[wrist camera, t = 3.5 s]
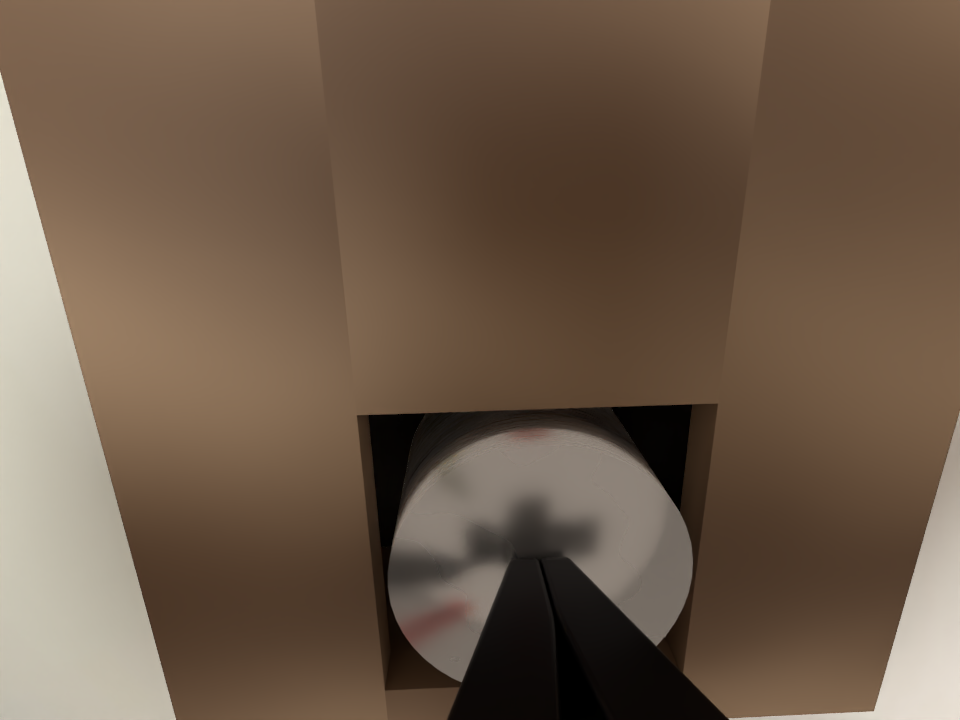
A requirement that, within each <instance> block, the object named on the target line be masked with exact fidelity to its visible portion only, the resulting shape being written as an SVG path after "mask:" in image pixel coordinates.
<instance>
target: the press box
mask: <svg viewBox="0 0 960 720" xmlns="http://www.w3.org/2000/svg"><path fill="white" fill-rule="evenodd" d="M0 72H1V76H2V79H3V83H4V87H5V90H6V94H7V98H8V101H9V105H10V109H11V113H12V116H13V120H14V124H15V127H16V131H17V135H18V138H19V142H20V146H21V149H22V153H23V157H24V160H25V164H26V168H27V171H28V175H29V179H30V182H31V186H32V190H33V194H34V197H35V201H36V205H37V208H38V212H39V216H40V219H41V223H42V227H43V230H44V234H45V238H46V241H47V245H48V249H49V252H50V256H51V260H52V264H53V267H54V271H55V275H56V278H57V282H58V286H59V289H60V293H61V297H62V300H63V304H64V308H65V311H66V315H67V319H68V322H69V326H70V330H71V333H72V337H73V341H74V345H75V348H76V352H77V356H78V359H79V363H80V367H81V370H82V374H83V378H84V381H85V385H86V389H87V392H88V396H89V400H90V403H91V407H92V411H93V415H94V418H95V422H96V426H97V429H98V433H99V437H100V440H101V444H102V448H103V451H104V455H105V459H106V462H107V466H108V470H109V473H110V477H111V481H112V484H113V488H114V492H115V496H116V499H117V503H118V507H119V510H120V514H121V518H122V521H123V525H124V529H125V532H126V536H127V540H128V543H129V547H130V551H131V554H132V558H133V562H134V566H135V569H136V573H137V577H138V580H139V584H140V588H141V591H142V595H143V599H144V602H145V606H146V610H147V613H148V617H149V621H150V624H151V628H152V632H153V636H154V639H155V643H156V647H157V650H158V654H159V658H160V661H161V665H162V669H163V672H164V676H165V680H166V683H167V687H168V691H169V694H170V698H171V702H172V705H173V709H174V713H175V717H176V720H447V718H448V715H449V713H450V710H451V708H452V705H453V703H454V700H455V698H456V695H457V693H458V690H459V688H460V685H461V683H462V682H460V681H457V680H455V679H453V678H451V677H450V676H448V675H446V674H445V673H443V672H441V671H440V670H438V669H437V668H435V667H434V666H433V665H432V664H430V663H429V662H428V661H426V660H425V659H424V658H423V657H422V656H421V655H420V654H419V653H418V652H417V651H416V650H415V649H414V648H413V646H412V645H411V644H410V642H409V641H408V640H407V638H406V637H405V635H404V634H403V632H402V630H401V628H400V626H399V625H398V623H397V621H396V618H395V615H394V612H393V610H392V607H391V603H390V597H389V591H388V567H389V560H390V554H391V549H392V546H389V547H381V543H380V533H379V522H378V511H377V501H376V490H375V480H374V469H373V458H372V448H371V437H370V427H369V416H368V415H380V414H411V413H441V412H472V411H502V410H532V409H563V408H593V407H624V406H654V405H685V404H692V411H691V420H690V429H689V437H688V446H687V455H686V464H685V473H684V482H683V490H682V499H681V508H680V514H681V516H682V518H683V520H684V523H685V525H686V527H687V530H688V534H689V537H690V541H691V546H692V555H693V569H692V579H691V584H690V589H689V593H688V596H687V598H686V601H685V604H684V607H683V609H682V611H681V613H680V614H679V616H678V618H677V620H676V622H675V623H674V625H673V626H672V628H671V629H670V630H669V632H668V633H667V635H666V636H665V637H664V638H663V639H662V640H661V642H660V643H659V644H658V645H657V647H658V648H659V649H660V650H661V651H662V652H663V653H664V654H665V655H666V656H667V657H668V658H669V659H670V660H671V661H672V662H673V663H674V664H675V665H676V666H677V667H678V668H679V669H680V670H681V671H682V672H683V674H684V675H685V676H686V677H687V678H688V679H689V680H690V681H691V682H692V683H693V684H694V685H695V686H696V687H697V688H698V689H699V690H700V691H701V692H702V693H703V694H704V695H705V696H706V697H707V698H708V699H709V700H710V701H711V702H712V703H713V704H714V705H715V706H716V707H717V708H718V709H719V710H720V711H721V712H722V713H723V714H724V715H725V716H726V717H727V718H741V717H762V716H782V715H803V714H824V713H845V712H866V711H874V709H875V705H876V702H877V698H878V695H879V691H880V688H881V684H882V681H883V677H884V674H885V670H886V667H887V663H888V660H889V656H890V653H891V649H892V646H893V642H894V639H895V635H896V632H897V628H898V625H899V621H900V618H901V614H902V611H903V607H904V604H905V600H906V597H907V593H908V590H909V586H910V583H911V579H912V576H913V572H914V569H915V565H916V562H917V558H918V555H919V551H920V548H921V544H922V541H923V537H924V534H925V530H926V527H927V523H928V520H929V516H930V513H931V509H932V506H933V502H934V499H935V495H936V492H937V488H938V485H939V481H940V478H941V474H942V471H943V467H944V464H945V460H946V457H947V453H948V450H949V446H950V443H951V439H952V436H953V432H954V429H955V425H956V422H957V418H958V415H959V411H960V0H0Z"/></svg>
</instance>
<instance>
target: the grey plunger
mask: <svg viewBox="0 0 960 720" xmlns="http://www.w3.org/2000/svg"><path fill="white" fill-rule="evenodd" d="M544 557H568V558H570V559H571V560H572V561H573V562H574V563H575V564H576V565H577V566H578V567H579V568H580V569H581V570H582V571H583V572H584V573H585V574H586V575H587V576H588V577H589V578H590V579H591V580H592V581H593V582H594V583H595V584H596V585H597V586H598V587H599V588H600V589H601V590H602V591H603V592H604V593H605V595H606V596H607V597H608V598H609V599H610V600H611V601H612V602H613V603H614V604H615V605H616V606H617V607H618V608H619V609H620V610H621V611H622V612H623V613H624V614H625V615H626V616H627V617H628V618H629V619H630V620H631V621H632V622H633V623H634V624H635V625H636V626H637V627H638V628H639V629H640V630H641V631H642V632H643V633H644V634H645V635H646V636H647V637H648V638H649V639H650V640H651V641H652V642H653V643H654V644H655V645H656V646H657V645H658V644H659V643H660V642H661V640H662V639H663V638H664V637H665V636H666V635H667V633H668V632H669V630H670V629H671V628H672V626H673V625H674V623H675V622H676V620H677V618H678V616H679V614H680V613H681V611H682V609H683V607H684V604H685V601H686V598H687V596H688V593H689V589H690V584H691V579H692V569H693V555H692V546H691V541H690V537H689V534H688V530H687V527H686V525H685V523H684V520H683V518H682V516H681V514H680V512H679V510H678V509H677V507H676V506H675V504H674V503H673V501H672V500H671V498H670V497H669V495H668V493H667V492H666V490H665V489H664V487H663V486H662V484H661V483H660V481H659V480H658V478H657V477H656V475H655V474H654V472H653V471H652V469H651V468H650V466H649V464H648V463H647V461H646V460H645V458H644V457H643V455H642V454H641V452H640V451H639V449H638V448H637V446H636V445H635V443H634V442H633V440H632V439H631V437H630V435H629V434H628V432H627V431H626V429H625V428H624V426H623V425H622V423H621V422H620V420H619V419H618V417H617V416H616V414H615V413H614V411H613V410H612V408H611V407H593V408H563V409H532V410H502V411H472V412H441V413H426V414H425V415H424V417H423V418H422V420H421V422H420V423H419V426H418V428H417V430H416V432H415V434H414V437H413V440H412V443H411V447H410V452H409V457H408V463H407V468H406V473H405V479H404V484H403V490H402V495H401V500H400V506H399V511H398V516H397V522H396V527H395V533H394V538H393V543H392V549H391V554H390V560H389V567H388V591H389V597H390V603H391V607H392V610H393V612H394V615H395V618H396V621H397V623H398V625H399V626H400V628H401V630H402V632H403V634H404V635H405V637H406V638H407V640H408V641H409V642H410V644H411V645H412V646H413V648H414V649H415V650H416V651H417V652H418V653H419V654H420V655H421V656H422V657H423V658H424V659H425V660H426V661H428V662H429V663H430V664H432V665H433V666H434V667H435V668H437V669H438V670H440V671H441V672H443V673H445V674H446V675H448V676H450V677H451V678H453V679H455V680H457V681H460V682H462V680H463V678H464V675H465V673H466V670H467V667H468V665H469V662H470V660H471V657H472V655H473V652H474V650H475V647H476V645H477V642H478V640H479V637H480V635H481V632H482V630H483V627H484V625H485V622H486V619H487V617H488V614H489V612H490V609H491V607H492V604H493V602H494V599H495V597H496V594H497V592H498V589H499V587H500V584H501V582H502V579H503V577H504V574H505V571H506V569H507V566H508V564H509V562H510V561H511V560H512V559H517V558H536V559H538V560H539V562H540V560H541V559H542V558H544Z"/></svg>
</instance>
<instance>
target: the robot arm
mask: <svg viewBox="0 0 960 720" xmlns="http://www.w3.org/2000/svg"><path fill="white" fill-rule="evenodd" d="M447 720H729V719H728V718H727V717H726V716H725V715H724V714H723V713H722V712H721V711H720V710H719V709H718V708H717V707H716V706H715V705H714V704H713V703H712V702H711V701H710V700H709V699H708V698H707V697H706V696H705V695H704V694H703V693H702V692H701V691H700V690H699V689H698V688H697V687H696V686H695V685H694V684H693V683H692V682H691V681H690V680H689V679H688V678H687V677H686V676H685V675H684V674H683V672H682V671H681V670H680V669H679V668H678V667H677V666H676V665H675V664H674V663H673V662H672V661H671V660H670V659H669V658H668V657H667V656H666V655H665V654H664V653H663V652H662V651H661V650H660V649H659V648H658V647H657V646H656V645H655V644H654V643H653V642H652V641H651V640H650V639H649V638H648V637H647V636H646V635H645V634H644V633H643V632H642V631H641V630H640V629H639V628H638V627H637V626H636V625H635V624H634V623H633V622H632V621H631V620H630V619H629V618H628V617H627V616H626V615H625V614H624V613H623V612H622V611H621V610H620V609H619V608H618V607H617V606H616V605H615V604H614V603H613V602H612V601H611V600H610V599H609V598H608V597H607V596H606V595H605V593H604V592H603V591H602V590H601V589H600V588H599V587H598V586H597V585H596V584H595V583H594V582H593V581H592V580H591V579H590V578H589V577H588V576H587V575H586V574H585V573H584V572H583V571H582V570H581V569H580V568H579V567H578V566H577V565H576V564H575V563H574V562H573V561H572V560H571V559H570V558H568V557H544V558H542V559H541V560H540V562H539V560H538V559H536V558H517V559H512V560H511V561H510V562H509V564H508V566H507V569H506V571H505V574H504V577H503V579H502V582H501V584H500V587H499V589H498V592H497V594H496V597H495V599H494V602H493V604H492V607H491V609H490V612H489V614H488V617H487V619H486V622H485V625H484V627H483V630H482V632H481V635H480V637H479V640H478V642H477V645H476V647H475V650H474V652H473V655H472V657H471V660H470V662H469V665H468V667H467V670H466V673H465V675H464V678H463V680H462V683H461V685H460V688H459V690H458V693H457V695H456V698H455V700H454V703H453V705H452V708H451V710H450V713H449V715H448V718H447Z"/></svg>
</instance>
